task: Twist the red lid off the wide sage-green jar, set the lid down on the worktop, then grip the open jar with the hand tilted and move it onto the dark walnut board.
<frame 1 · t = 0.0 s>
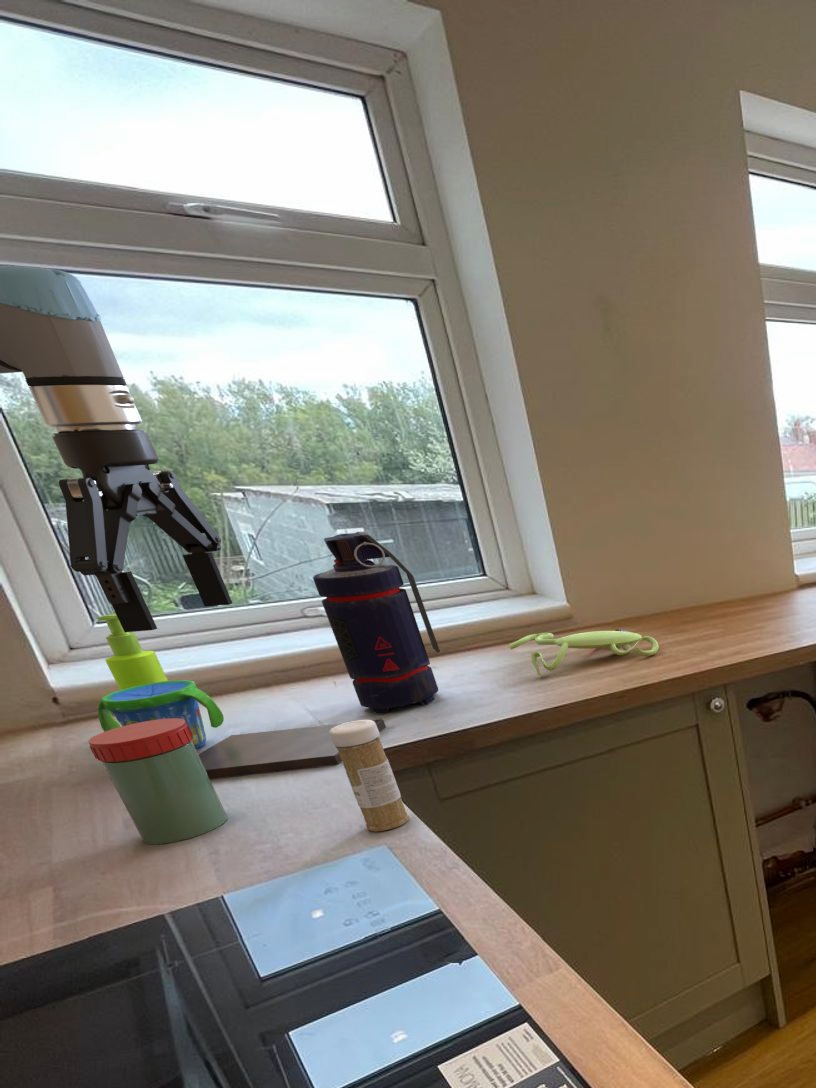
hand: (182, 617, 98), 26 cm above the worktop, tool pointing down, fingers open, 13 cm apart
snack cup: (177, 751, 130), on the worktop
sprinkles bottle: (389, 825, 102), on the worktop
board: (284, 753, 126), on the worktop
figurine: (585, 659, 170), on the worktop
lid: (139, 733, 98), point 13 cm above the worktop, screwed on, not yet turned
soap dispenser: (168, 729, 140), on the worktop
grenade: (409, 702, 148), on the worktop
jar: (186, 828, 103), on the worktop
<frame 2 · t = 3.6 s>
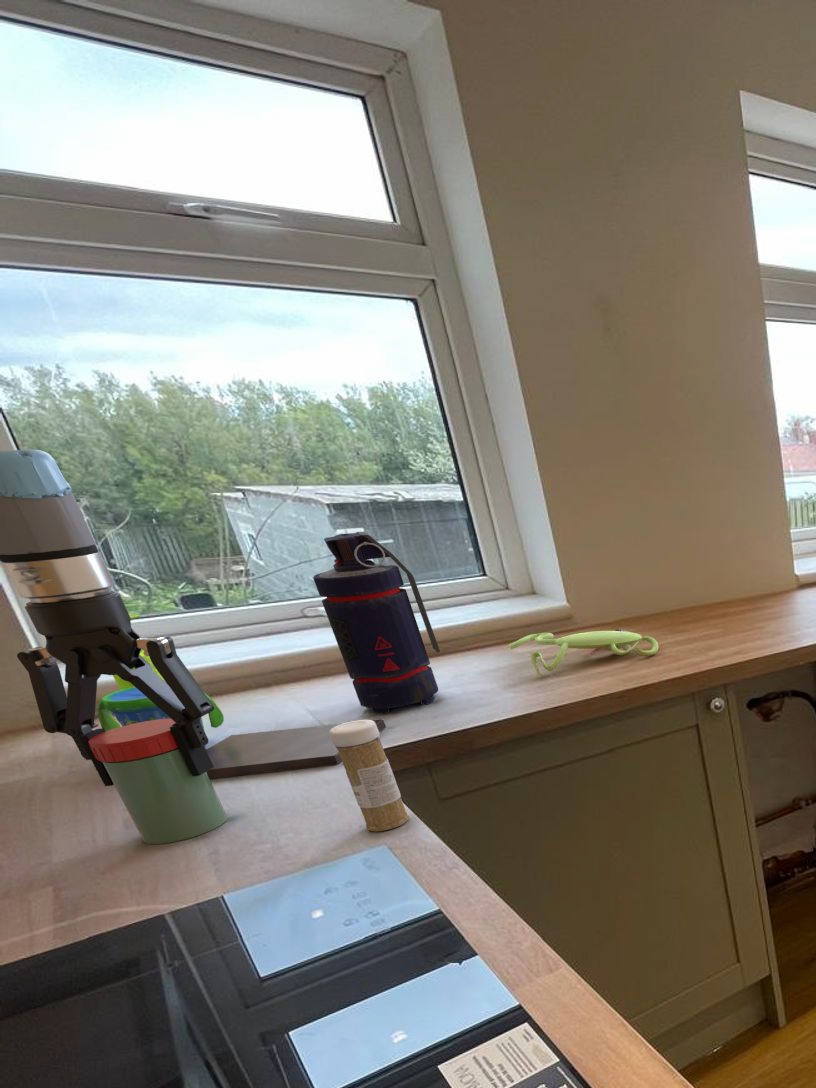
hand: (160, 776, 100), 7 cm above the worktop, tool pointing down, fingers closed on lid, 8 cm apart
lid: (139, 733, 98), point 13 cm above the worktop, screwed on, not yet turned, touching gripper
everything else where it was.
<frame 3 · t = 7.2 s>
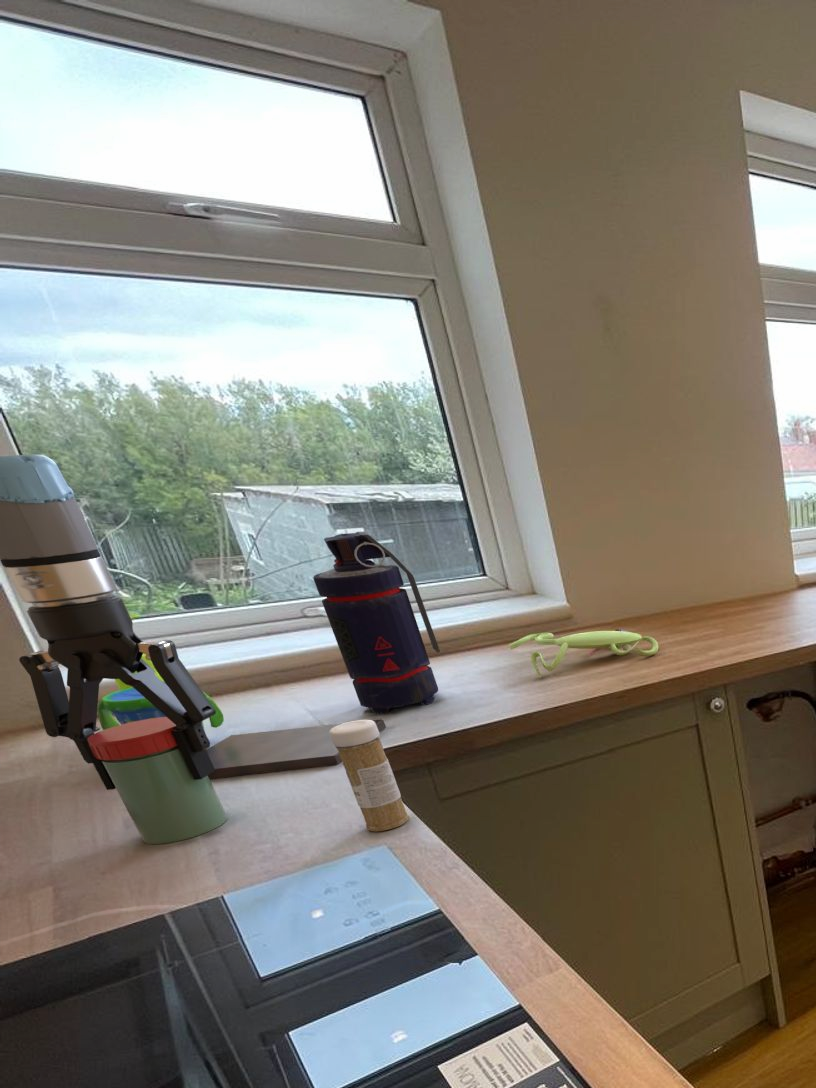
hand: (162, 779, 101), 7 cm above the worktop, tool pointing down, fingers closed on lid, 8 cm apart
lid: (138, 731, 98), point 13 cm above the worktop, turned 86° so far, risen 0.2 cm, still on its thread, touching gripper
everything else where it was.
when the fingers open (6 cm above the worktop, at t = 34.5 s): lid stays where it is, point 2 cm above the worktop.
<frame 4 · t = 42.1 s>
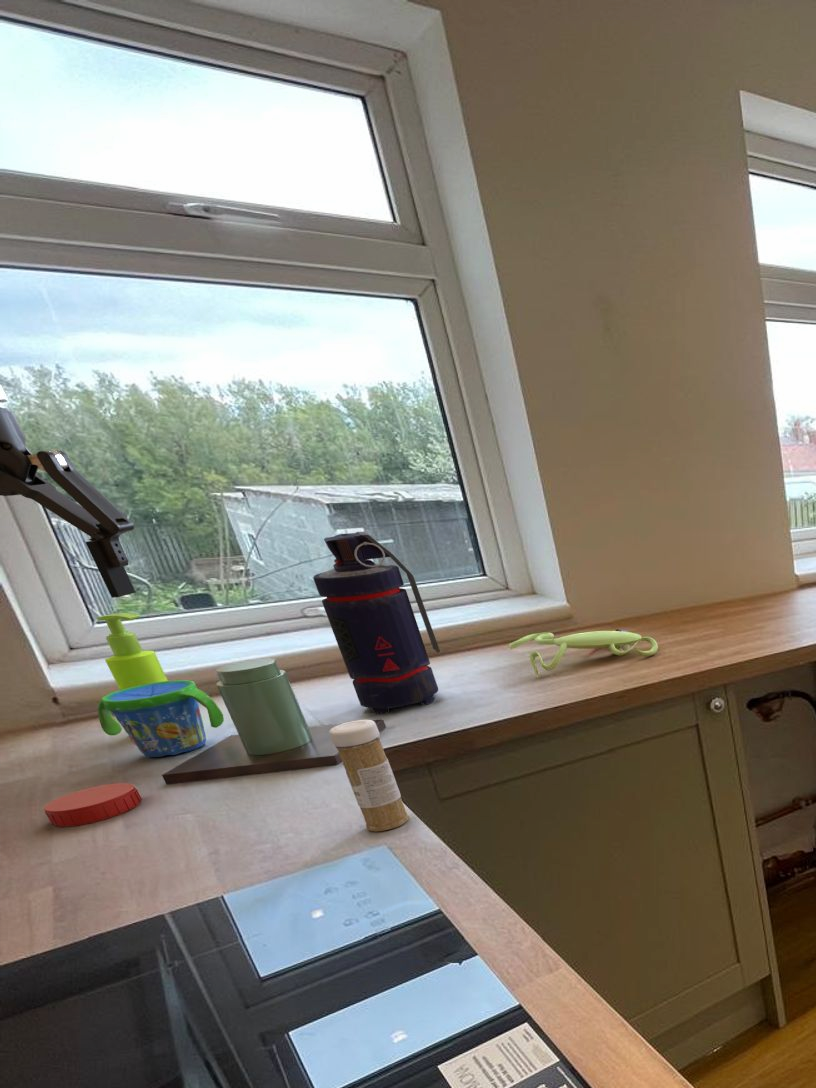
hand: (56, 600, 96), 29 cm above the worktop, tool pointing down, fingers open, 13 cm apart
lid: (91, 799, 108), point 2 cm above the worktop, off its thread
jar: (280, 745, 126), point 1 cm above the worktop, touching board
everything else where it was.
at the end: lid came off its thread; lid point 1.9 cm above the worktop; jar inside the target area on the board (0.1 cm from its centre), point 1.5 cm above the board's base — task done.
